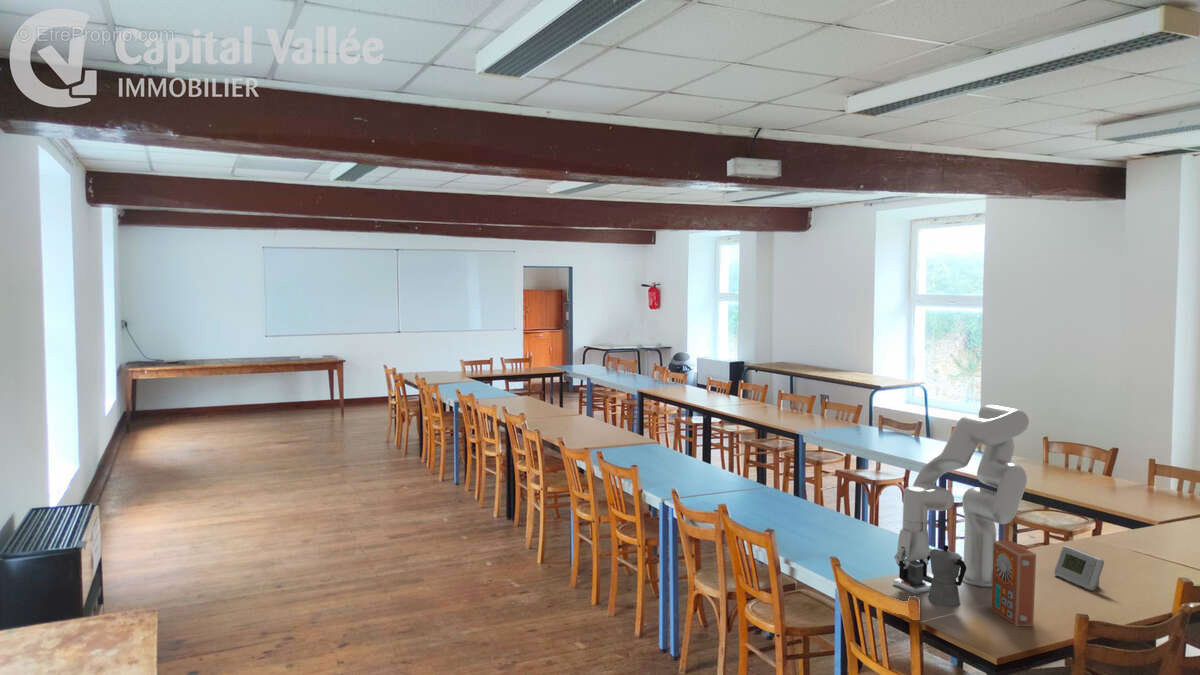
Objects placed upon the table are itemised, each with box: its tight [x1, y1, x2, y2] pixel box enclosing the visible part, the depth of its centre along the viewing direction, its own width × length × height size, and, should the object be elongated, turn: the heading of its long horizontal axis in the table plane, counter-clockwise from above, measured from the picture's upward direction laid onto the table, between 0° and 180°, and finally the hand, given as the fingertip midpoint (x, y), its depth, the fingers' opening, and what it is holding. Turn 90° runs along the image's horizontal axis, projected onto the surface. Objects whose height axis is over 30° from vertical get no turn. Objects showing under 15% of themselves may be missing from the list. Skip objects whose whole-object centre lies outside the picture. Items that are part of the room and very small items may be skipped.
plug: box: [903, 560, 924, 587], centre depth 251 cm, size 4×5×8 cm
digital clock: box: [1053, 545, 1105, 592], centre depth 258 cm, size 16×9×11 cm, turn 1°
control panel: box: [990, 540, 1037, 627], centre depth 228 cm, size 21×7×15 cm
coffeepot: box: [927, 544, 966, 607], centre depth 239 cm, size 15×9×18 cm, turn 14°
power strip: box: [892, 572, 933, 595], centre depth 253 cm, size 16×9×2 cm, turn 117°
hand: (912, 577), depth 251 cm, fingers open, 7 cm apart
